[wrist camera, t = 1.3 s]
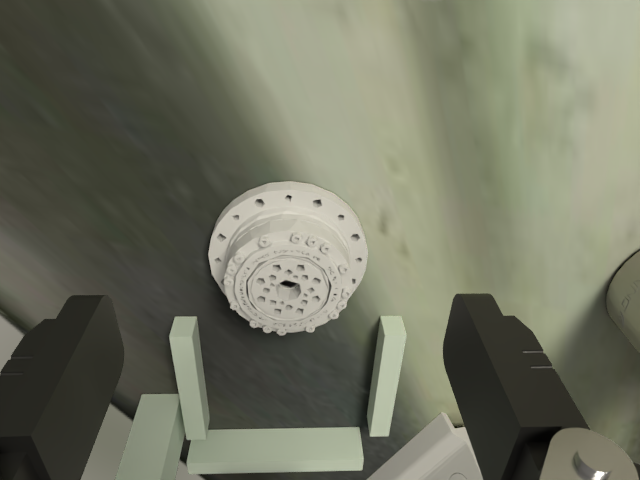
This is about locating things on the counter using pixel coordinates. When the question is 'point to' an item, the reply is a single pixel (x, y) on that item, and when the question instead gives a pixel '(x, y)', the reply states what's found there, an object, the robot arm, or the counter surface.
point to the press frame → (249, 444)
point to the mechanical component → (288, 256)
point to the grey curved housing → (433, 455)
